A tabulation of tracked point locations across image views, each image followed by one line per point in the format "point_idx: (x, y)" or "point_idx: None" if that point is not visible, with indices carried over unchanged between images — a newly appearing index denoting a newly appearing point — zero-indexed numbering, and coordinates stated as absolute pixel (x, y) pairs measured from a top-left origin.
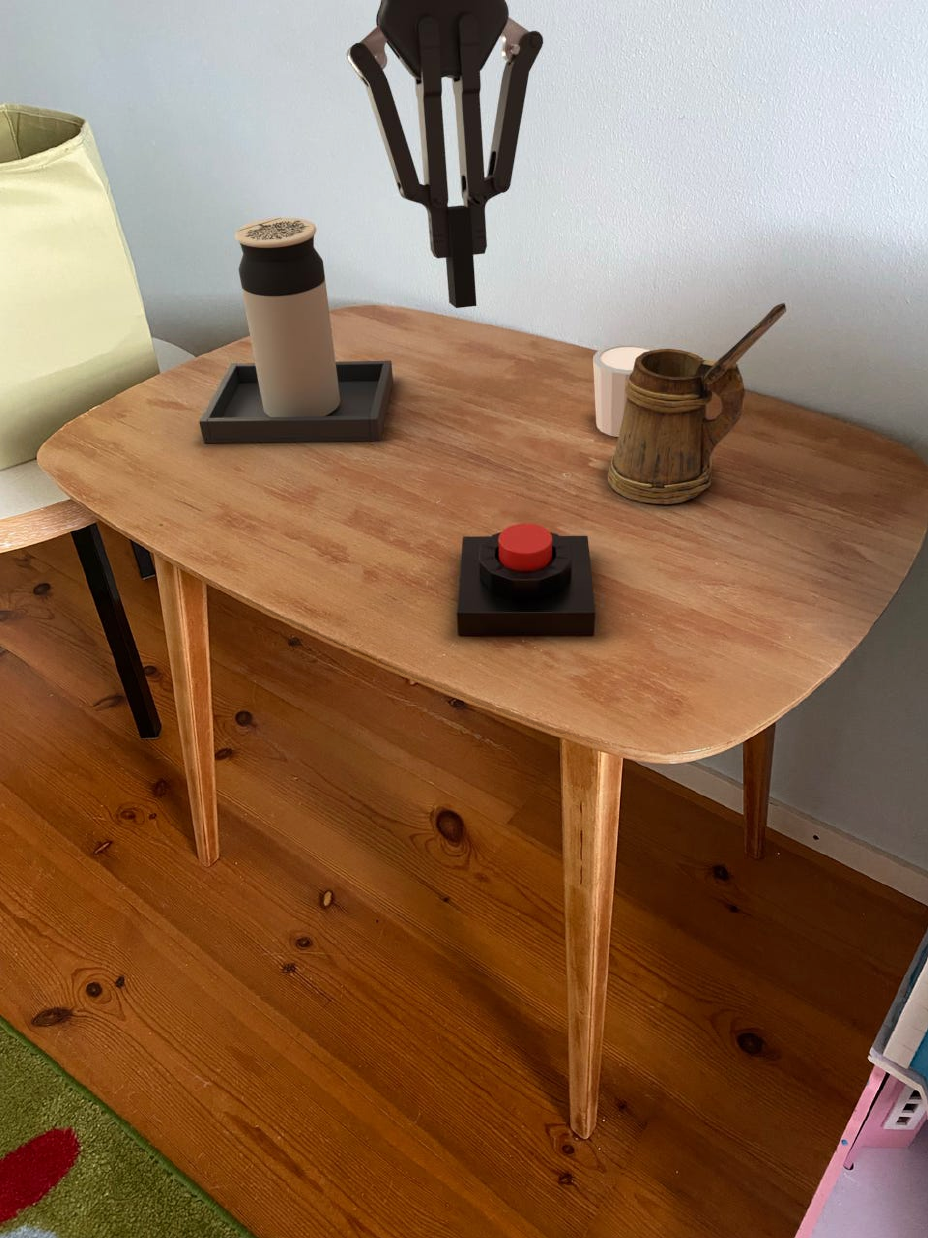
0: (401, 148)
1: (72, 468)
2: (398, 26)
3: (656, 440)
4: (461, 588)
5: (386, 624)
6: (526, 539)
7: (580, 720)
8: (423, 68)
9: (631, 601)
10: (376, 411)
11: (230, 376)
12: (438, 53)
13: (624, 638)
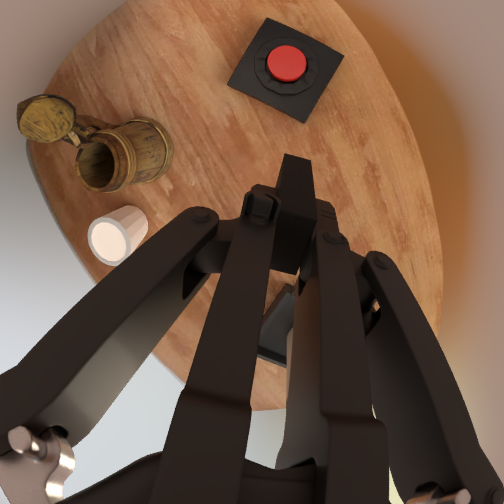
0: (412, 325)
1: (433, 328)
2: None
3: (138, 133)
4: (331, 73)
5: (373, 92)
6: (287, 60)
7: None
8: (385, 486)
9: (229, 39)
10: (282, 301)
11: None
12: None
13: (252, 15)
